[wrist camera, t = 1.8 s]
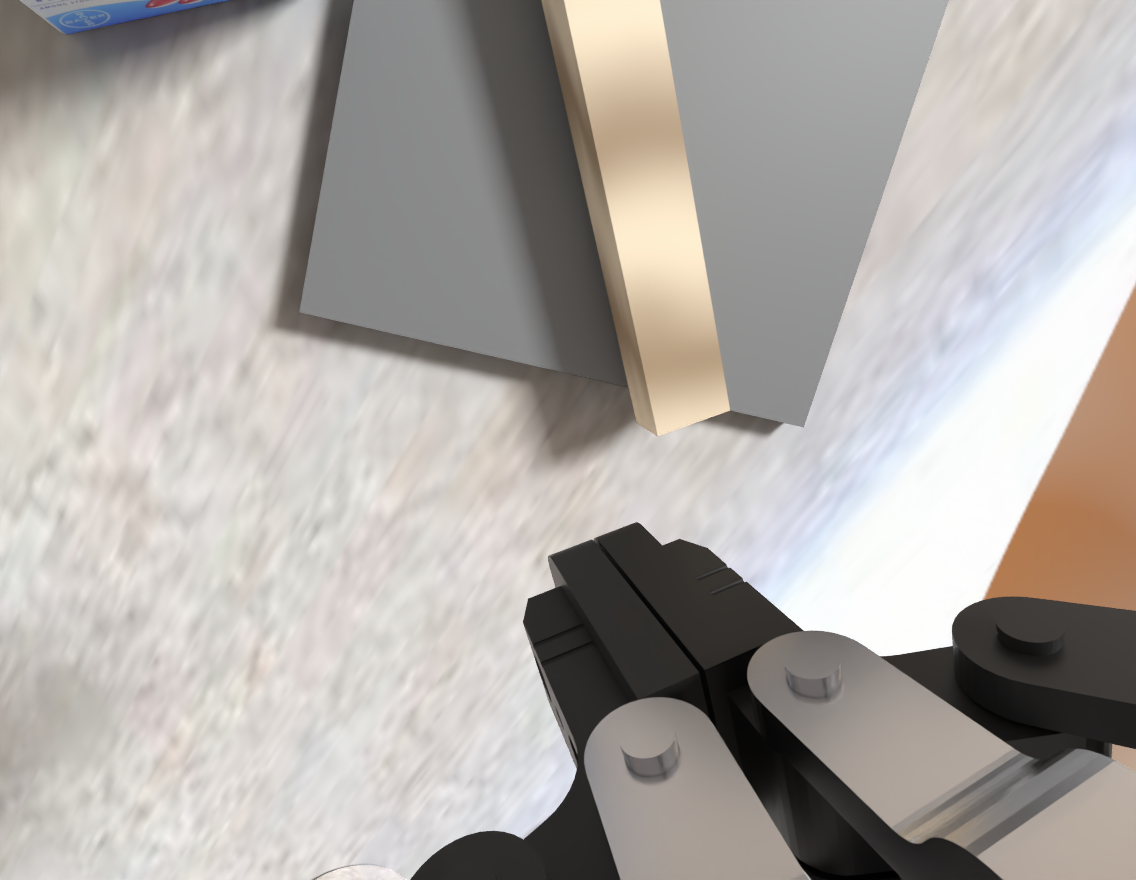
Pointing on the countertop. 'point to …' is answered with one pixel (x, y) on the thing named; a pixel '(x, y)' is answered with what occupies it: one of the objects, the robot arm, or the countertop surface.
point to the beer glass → (362, 873)
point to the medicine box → (104, 11)
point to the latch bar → (640, 204)
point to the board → (556, 194)
